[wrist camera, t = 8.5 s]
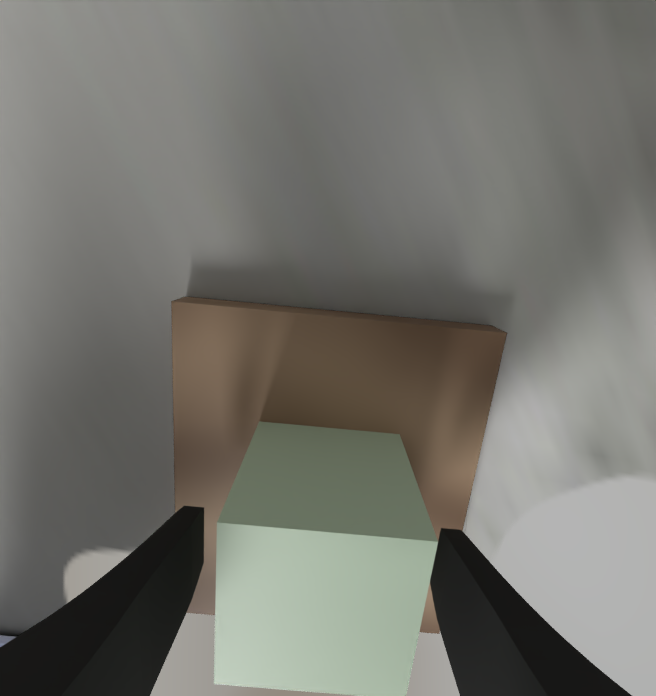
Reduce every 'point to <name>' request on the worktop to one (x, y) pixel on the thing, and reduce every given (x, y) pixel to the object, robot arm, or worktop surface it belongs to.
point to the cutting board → (326, 399)
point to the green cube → (322, 564)
